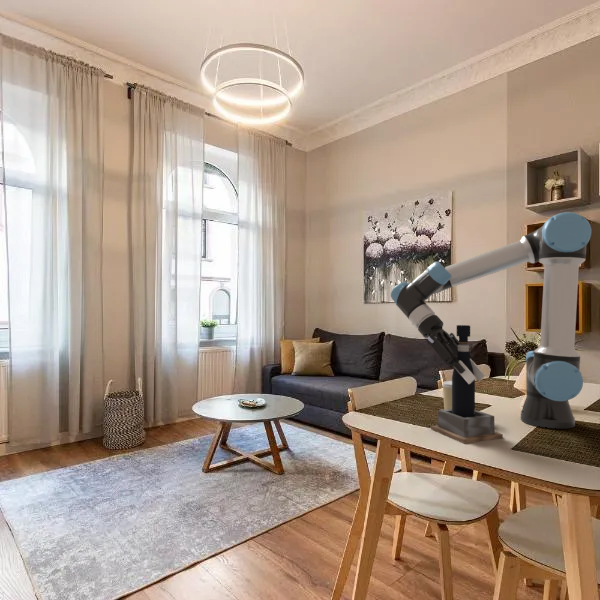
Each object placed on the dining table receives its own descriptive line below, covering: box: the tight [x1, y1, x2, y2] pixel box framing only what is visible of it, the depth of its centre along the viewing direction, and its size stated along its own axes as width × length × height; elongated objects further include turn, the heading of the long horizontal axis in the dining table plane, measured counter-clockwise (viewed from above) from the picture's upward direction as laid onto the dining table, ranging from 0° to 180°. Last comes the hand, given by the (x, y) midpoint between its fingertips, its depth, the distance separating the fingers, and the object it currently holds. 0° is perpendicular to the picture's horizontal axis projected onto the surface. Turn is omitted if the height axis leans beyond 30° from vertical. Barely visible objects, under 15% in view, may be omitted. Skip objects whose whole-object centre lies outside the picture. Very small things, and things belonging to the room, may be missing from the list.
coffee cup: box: [441, 380, 452, 410], centre depth 140 cm, size 9×9×12 cm
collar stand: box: [430, 409, 504, 444], centre depth 124 cm, size 14×14×6 cm
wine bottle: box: [451, 324, 476, 418], centre depth 124 cm, size 6×6×30 cm
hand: (477, 379), depth 121 cm, fingers closed on wine bottle, 5 cm apart
